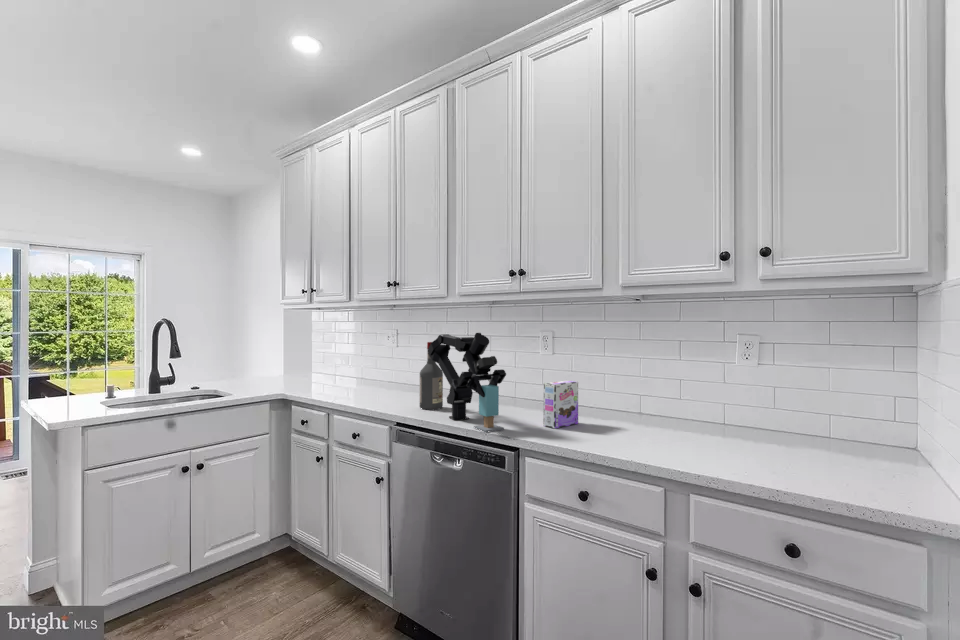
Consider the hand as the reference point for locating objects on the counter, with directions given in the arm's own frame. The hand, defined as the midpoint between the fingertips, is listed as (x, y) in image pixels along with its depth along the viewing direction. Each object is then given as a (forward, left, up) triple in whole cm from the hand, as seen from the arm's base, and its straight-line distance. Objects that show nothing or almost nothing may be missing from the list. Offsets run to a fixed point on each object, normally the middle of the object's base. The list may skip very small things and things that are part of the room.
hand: (490, 395), depth 170 cm
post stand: (-1, 0, -12) cm, 12 cm away
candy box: (+4, +28, -12) cm, 31 cm away
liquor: (-50, -6, -12) cm, 52 cm away
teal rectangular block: (-1, 0, -7) cm, 7 cm away
